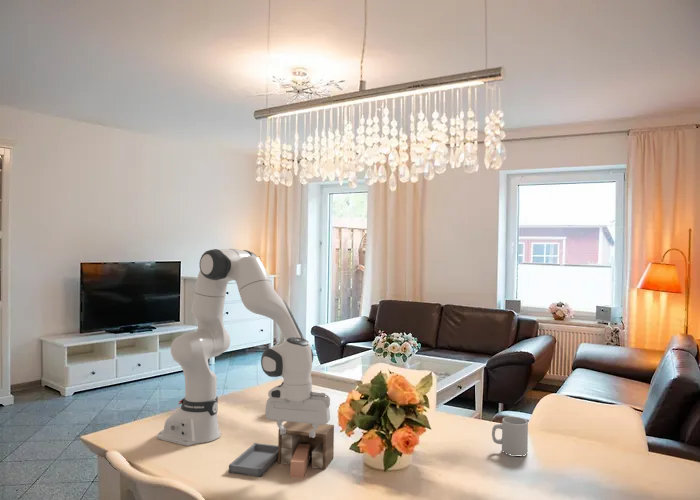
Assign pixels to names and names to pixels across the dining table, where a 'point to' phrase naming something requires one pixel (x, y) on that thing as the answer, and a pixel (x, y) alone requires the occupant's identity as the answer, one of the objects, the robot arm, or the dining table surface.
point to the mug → (513, 435)
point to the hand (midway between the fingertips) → (297, 435)
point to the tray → (255, 460)
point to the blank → (300, 461)
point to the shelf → (300, 435)
